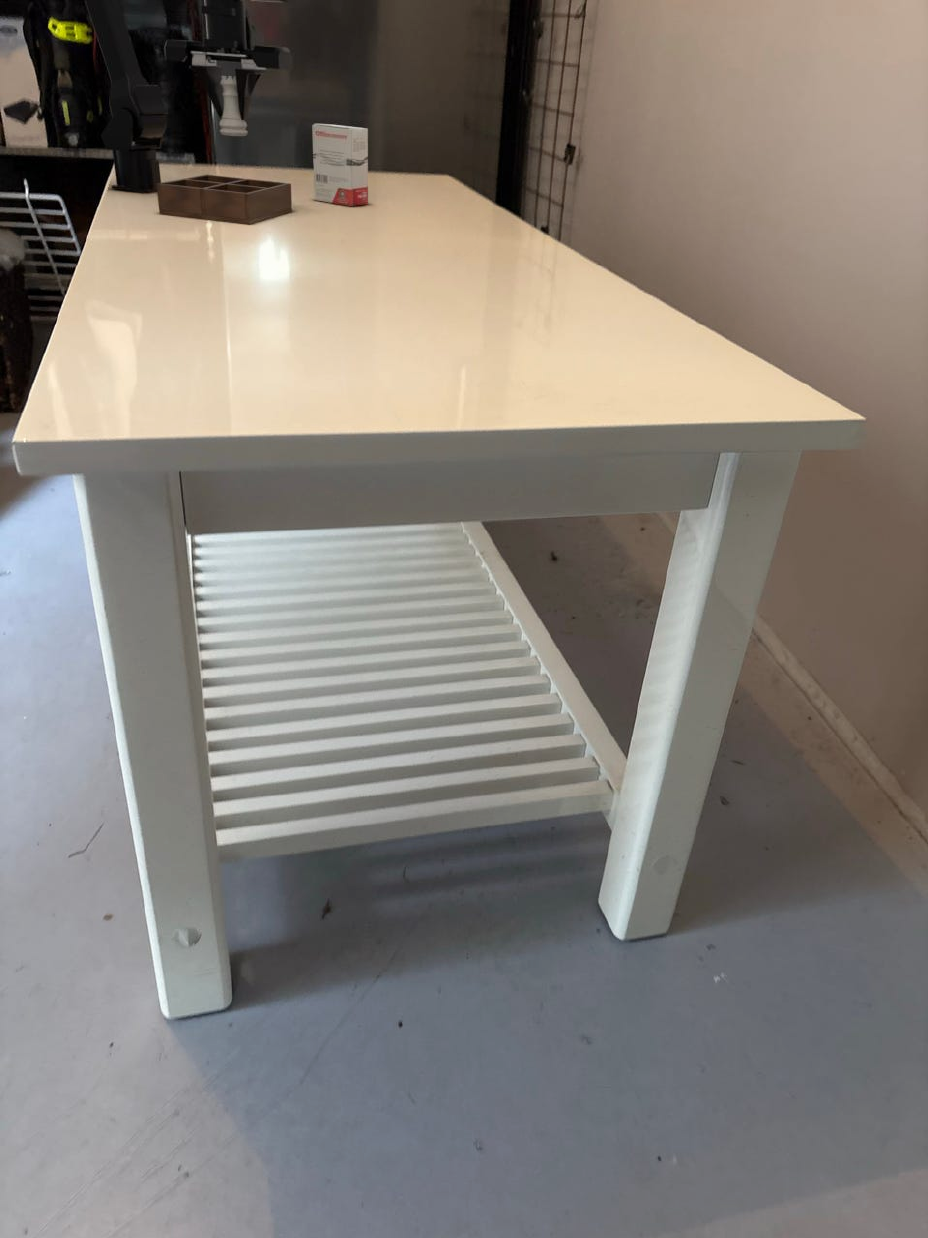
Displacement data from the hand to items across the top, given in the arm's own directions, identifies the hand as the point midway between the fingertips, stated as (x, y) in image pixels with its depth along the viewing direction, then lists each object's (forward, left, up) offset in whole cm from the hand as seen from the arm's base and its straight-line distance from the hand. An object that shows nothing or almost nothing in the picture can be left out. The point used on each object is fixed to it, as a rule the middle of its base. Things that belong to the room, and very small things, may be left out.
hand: (232, 118), depth 142 cm
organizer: (+3, -10, -12) cm, 16 cm away
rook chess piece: (0, 0, -2) cm, 2 cm away
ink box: (+13, +12, -12) cm, 22 cm away
